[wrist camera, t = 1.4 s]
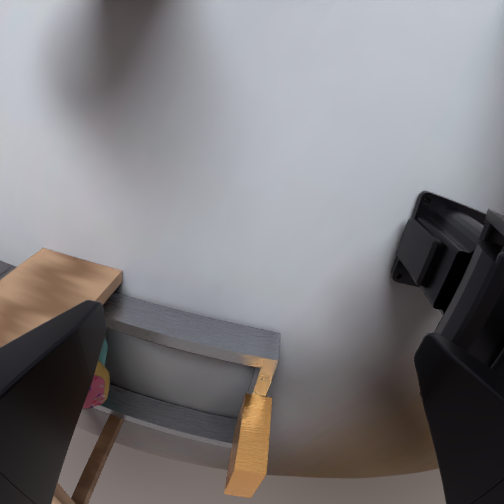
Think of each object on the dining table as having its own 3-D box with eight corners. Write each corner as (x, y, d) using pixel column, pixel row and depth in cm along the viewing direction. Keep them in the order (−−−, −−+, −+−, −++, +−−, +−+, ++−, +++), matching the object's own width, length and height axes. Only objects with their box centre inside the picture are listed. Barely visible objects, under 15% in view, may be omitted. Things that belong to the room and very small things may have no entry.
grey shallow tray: (286, 334, 23) (284, 445, 14) (252, 427, 29) (241, 511, 20) (28, 264, 23) (-43, 324, 14) (50, 365, 29) (8, 425, 20)
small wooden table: (129, 271, 23) (4, 435, 8) (135, 407, 30) (86, 526, 16) (38, 245, 23) (-91, 353, 8) (65, 379, 30) (3, 480, 16)
